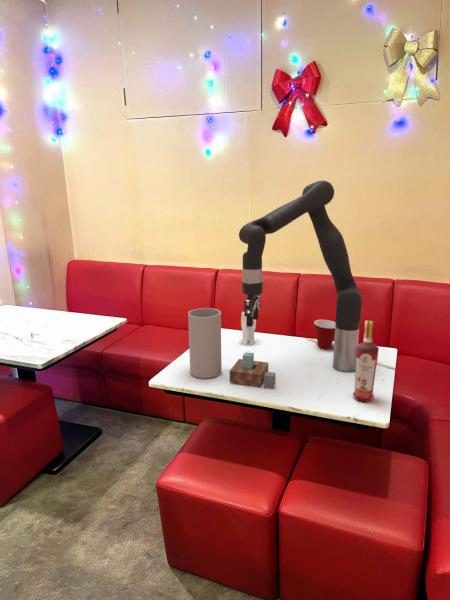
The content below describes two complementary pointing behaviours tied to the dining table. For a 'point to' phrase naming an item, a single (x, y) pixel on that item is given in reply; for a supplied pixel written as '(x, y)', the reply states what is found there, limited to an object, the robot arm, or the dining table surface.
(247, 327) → the beer glass
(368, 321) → the liquor
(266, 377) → the short pin
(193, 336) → the cylinder vase
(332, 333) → the plastic cup
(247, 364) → the long pin
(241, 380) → the socket block
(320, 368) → the dining table surface
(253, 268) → the robot arm
